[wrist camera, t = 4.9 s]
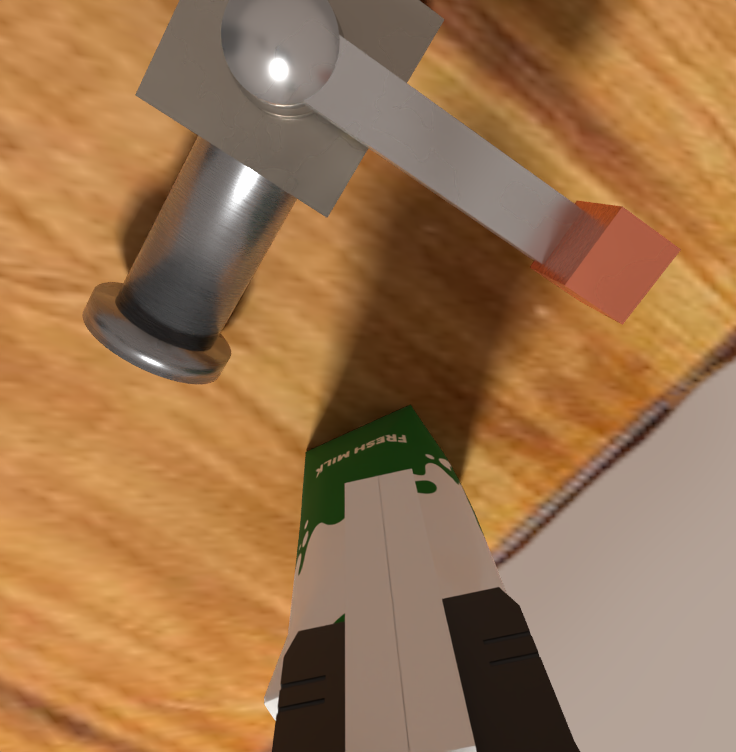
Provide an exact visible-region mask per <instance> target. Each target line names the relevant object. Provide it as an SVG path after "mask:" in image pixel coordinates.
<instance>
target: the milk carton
mask: <svg viewBox="0 0 736 752" xmlns="http://www.w3.org/2000/svg"><path fill="white" fill-rule="evenodd" d="M407 469H412V471H413V475H414V480H415V484H416V488H417V493H418V497H419V502H420V506H421V510H422V515H423V519H424V523H425V528H426V532H427V536H428V541H429V545H430V550H431V554H432V558H433V563H434V567H435V571H436V576H437V580H438V585H439V589H440V593H441V598H442V599H444V598H448V597H453V596H458V595H463V594H468V593H472V592H477V591H482V590H487V589H491V588H496V587H500V588H501V589H502V590H503V591H504V592H505V593H506V590H505V588H504V585H503V583H502V580H501V578H500V575H499V573H498V570H497V568H496V565H495V562H494V560H493V557H492V555H491V552H490V550H489V547H488V545H487V542H486V540H485V537H484V535H483V532H482V530H481V527H480V525H479V522H478V520H477V517H476V515H475V512H474V510H473V508H472V506H471V504H470V502H469V500H468V498H467V496H466V493H465V491H464V489H463V487H462V485H461V483H460V481H459V479H458V477H457V476H456V474H455V472H454V470H453V468H452V467H451V465H450V463H449V461H448V459H447V457H446V456H445V454H444V453H443V452H442V450H441V449H440V447H439V446H438V444H437V443H436V441H435V440H434V438H433V437H432V436H431V434H430V433H429V431H428V430H427V428H426V427H425V425H424V424H423V422H422V421H421V419H420V418H419V417H418V415H417V414H416V412H415V411H414V409H413V408H412V406H411V405H409V406H406V407H404V408H402V409H400V410H398V411H395V412H393V413H391V414H389V415H386V416H384V417H382V418H380V419H378V420H375V421H373V422H371V423H369V424H367V425H364V426H362V427H360V428H358V429H356V430H353V431H351V432H349V433H347V434H344V435H342V436H340V437H338V438H336V439H333V440H331V441H329V442H327V443H325V444H322V445H320V446H318V447H316V448H314V449H311V450H309V451H307V452H306V457H305V469H304V481H303V494H302V508H301V521H300V530H299V540H298V549H297V558H296V568H295V577H294V586H293V595H292V604H291V614H290V623H289V631H288V636H287V639H286V641H285V644H284V647H283V649H282V652H281V655H280V657H279V660H278V663H277V665H276V668H275V670H274V673H273V676H272V678H271V681H270V683H269V686H268V689H267V691H266V694H265V697H264V700H265V702H264V704H265V706H266V707H267V709H268V710H269V712H270V713H271V715H272V716H273V718H274V719H275V721H276V715H277V713H278V708H277V707H278V699H279V691H280V690H281V685H280V683H281V675H282V667H283V658H284V655H285V654H286V652H287V650H288V648H289V647H290V645H291V643H292V641H293V640H294V638H295V636H296V634H297V632H298V631H301V630H306V629H311V628H315V627H320V626H325V625H330V624H334V623H339V622H344V621H345V483H348V482H352V481H357V480H362V479H366V478H371V477H375V476H380V475H384V474H389V473H394V472H398V471H403V470H407ZM506 594H507V593H506Z"/></svg>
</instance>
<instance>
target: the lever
mask: <svg viewBox="0 0 736 752" xmlns="http://www.w3.org/2000/svg"><path fill="white" fill-rule="evenodd" d="M221 42H222V48H223V53H224V56H225V59H226V62H227V64H228V66H229V68H230V70H231V72H232V74H233V75H234V77H235V78H236V79H237V81H238V82H239V83H240V84H241V85H242V86H243V87H244V88H245V89H246V90H247V91H248V92H250V93H251V94H252V95H253V96H254V97H256V98H257V99H258V100H260V101H261V102H263V103H265V104H267V105H269V106H272V107H275V108H279V109H297V108H301V107H304V106H307V107H309V108H310V109H312V110H313V111H315V112H316V113H318V114H319V115H321V116H322V117H323V118H325V119H326V120H328V121H329V122H331V123H332V124H334V125H335V126H337V127H338V128H340V129H341V130H343V131H344V132H345V133H347V134H348V135H350V136H351V137H353V138H354V139H356V140H357V141H359V142H360V143H362V144H363V145H365V146H366V147H368V148H369V149H370V150H372V151H373V152H375V153H376V154H378V155H379V156H381V157H382V158H384V159H385V160H387V161H388V162H390V163H391V164H393V165H394V166H395V167H397V168H398V169H400V170H401V171H403V172H404V173H406V174H407V175H409V176H410V177H412V178H413V179H415V180H416V181H418V182H419V183H420V184H422V185H423V186H425V187H426V188H428V189H429V190H431V191H432V192H434V193H435V194H437V195H438V196H440V197H441V198H443V199H444V200H445V201H447V202H448V203H450V204H451V205H453V206H454V207H456V208H457V209H459V210H460V211H462V212H463V213H465V214H466V215H468V216H469V217H470V218H472V219H473V220H475V221H476V222H478V223H479V224H481V225H482V226H484V227H485V228H487V229H488V230H490V231H491V232H492V233H494V234H495V235H497V236H498V237H500V238H501V239H503V240H504V241H506V242H507V243H509V244H510V245H512V246H513V247H515V248H516V249H517V250H519V251H520V252H522V253H523V254H525V255H526V256H528V257H529V258H531V259H532V260H534V262H533V263H532V265H531V266H530V268H531V269H533V270H534V271H536V272H537V273H539V274H540V275H542V276H543V277H545V278H546V279H548V280H549V281H551V282H552V283H554V284H555V285H557V286H558V287H559V288H561V289H562V290H564V291H565V292H567V293H568V294H570V295H571V296H573V297H574V298H576V299H577V300H579V301H580V302H582V303H584V304H586V305H588V306H589V307H591V308H593V309H595V310H597V311H599V312H600V313H602V314H604V315H606V316H608V317H610V318H611V319H613V320H615V321H617V322H619V323H620V324H622V325H623V323H624V322H625V321H626V319H627V318H628V317H629V316H630V314H631V313H632V312H633V310H634V309H635V308H636V307H637V305H638V304H639V303H640V301H641V300H642V299H643V298H644V296H645V295H646V294H647V292H648V291H649V290H650V289H651V287H652V286H653V285H654V283H655V282H656V281H657V280H658V278H659V277H660V276H661V274H662V273H663V272H664V271H665V269H666V268H667V267H668V265H669V264H670V263H671V262H672V260H673V259H674V258H675V256H676V255H677V254H678V253H679V251H680V250H681V249H679V248H678V247H677V246H675V245H674V244H673V243H671V242H670V241H668V240H667V239H666V238H664V237H663V236H662V235H660V234H659V233H658V232H656V231H655V230H654V229H652V228H651V227H649V226H648V225H647V224H645V223H644V222H643V221H641V220H640V219H639V218H637V217H636V216H634V215H633V214H632V213H630V212H629V211H628V210H626V209H625V208H624V207H621V206H614V205H606V204H599V203H591V202H583V201H576V203H575V204H574V203H572V202H571V201H570V200H568V199H567V198H565V197H564V196H563V195H561V194H560V193H559V192H557V191H556V190H554V189H553V188H552V187H550V186H549V185H547V184H546V183H545V182H543V181H542V180H540V179H539V178H538V177H536V176H535V175H534V174H532V173H531V172H529V171H528V170H527V169H525V168H524V167H522V166H521V165H520V164H518V163H517V162H515V161H514V160H513V159H511V158H510V157H508V156H507V155H506V154H504V153H503V152H502V151H500V150H499V149H497V148H496V147H495V146H493V145H492V144H490V143H489V142H488V141H486V140H485V139H483V138H482V137H481V136H479V135H478V134H477V133H475V132H474V131H472V130H471V129H470V128H468V127H467V126H465V125H464V124H463V123H461V122H460V121H458V120H457V119H456V118H454V117H453V116H452V115H450V114H449V113H447V112H446V111H445V110H443V109H442V108H440V107H439V106H438V105H436V104H435V103H433V102H432V101H431V100H429V99H428V98H427V97H425V96H424V95H422V94H421V93H420V92H418V91H417V90H415V89H414V88H413V87H411V86H410V85H408V84H407V83H406V82H404V81H403V80H402V79H400V78H399V77H397V76H396V75H395V74H393V73H392V72H390V71H389V70H388V69H386V68H385V67H383V66H382V65H381V64H379V63H378V62H377V61H375V60H374V59H372V58H371V57H370V56H368V55H367V54H365V53H364V52H363V51H361V50H360V49H358V48H357V47H356V46H354V45H353V44H351V43H350V42H349V41H347V40H346V39H345V38H343V37H342V36H340V35H339V30H338V24H337V21H336V17H335V14H334V12H333V9H332V7H331V6H330V4H329V2H328V0H229V2H228V4H227V6H226V8H225V11H224V15H223V19H222V25H221Z"/></svg>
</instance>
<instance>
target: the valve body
mask: <svg viewBox="0 0 736 752" xmlns="http://www.w3.org/2000/svg"><path fill="white" fill-rule="evenodd" d="M228 2H229V0H180V1H179V3H178V5H177V7H176V9H175V11H174V14H173V16H172V18H171V20H170V22H169V24H168V26H167V28H166V31H165V33H164V35H163V37H162V39H161V41H160V43H159V46H158V48H157V50H156V52H155V54H154V56H153V58H152V61H151V63H150V65H149V67H148V69H147V71H146V73H145V75H144V78H143V80H142V82H141V84H140V86H139V88H138V90H137V93H136V96H137V97H139V98H141V99H142V100H144V101H145V102H147V103H148V104H150V105H152V106H153V107H155V108H156V109H158V110H159V111H161V112H162V113H164V114H166V115H167V116H169V117H170V118H172V119H173V120H175V121H177V122H178V123H180V124H181V125H183V126H184V127H186V128H188V129H189V130H191V131H192V132H194V133H195V134H197V135H198V137H197V139H196V141H195V143H194V145H193V147H192V149H191V151H190V153H189V155H188V157H187V159H186V161H185V163H184V165H183V167H182V169H181V171H180V173H179V175H178V177H177V179H176V181H175V183H174V185H173V187H172V189H171V191H170V192H169V194H168V196H167V198H166V200H165V202H164V204H163V206H162V208H161V210H160V212H159V214H158V216H157V218H156V220H155V222H154V224H153V226H152V228H151V230H150V232H149V234H148V236H147V238H146V240H145V242H144V244H143V246H142V248H141V250H140V252H139V254H138V256H137V258H136V260H135V262H134V264H133V265H132V267H131V269H130V271H129V273H128V275H127V277H126V279H125V281H124V283H115V282H108V283H102V284H99V285H98V286H96V287H95V289H94V290H93V292H92V294H91V297H90V299H89V301H88V303H87V305H86V307H85V309H84V311H83V320H84V323H85V325H86V327H87V328H88V330H89V331H90V332H91V333H92V335H93V336H94V337H95V338H96V339H97V340H98V341H99V342H100V343H102V344H103V345H104V346H105V347H106V348H108V349H109V350H110V351H112V352H113V353H115V354H116V355H118V356H119V357H121V358H122V359H124V360H126V361H128V362H129V363H131V364H133V365H135V366H137V367H139V368H141V369H143V370H145V371H148V372H150V373H152V374H155V375H158V376H160V377H163V378H167V379H170V380H174V381H178V382H182V383H188V384H207V383H211V382H214V381H215V380H217V378H218V377H219V376H220V374H221V372H222V371H223V369H224V367H225V365H226V364H227V362H228V360H229V359H230V356H231V349H230V347H229V345H228V343H227V341H226V340H225V338H224V337H223V336H222V335H221V334H220V333H221V331H222V329H223V328H224V326H225V324H226V322H227V321H228V319H229V317H230V315H231V314H232V312H233V310H234V308H235V307H236V305H237V303H238V301H239V300H240V298H241V296H242V294H243V293H244V291H245V289H246V287H247V286H248V284H249V282H250V280H251V279H252V277H253V275H254V273H255V272H256V270H257V268H258V266H259V265H260V263H261V261H262V259H263V258H264V256H265V254H266V252H267V251H268V249H269V247H270V245H271V244H272V242H273V240H274V238H275V237H276V235H277V233H278V231H279V230H280V228H281V226H282V224H283V223H284V221H285V219H286V217H287V216H288V214H289V212H290V210H291V209H292V207H293V205H294V203H295V202H296V200H297V199H299V200H300V201H302V202H303V203H305V204H306V205H308V206H310V207H311V208H313V209H314V210H316V211H317V212H319V213H321V214H322V215H324V216H325V217H328V216H329V214H330V212H331V210H332V209H333V207H334V205H335V204H336V202H337V200H338V199H339V197H340V195H341V194H342V192H343V190H344V188H345V187H346V185H347V183H348V182H349V180H350V178H351V177H352V175H353V173H354V172H355V170H356V168H357V166H358V165H359V163H360V161H361V160H362V158H363V156H364V155H365V153H366V151H367V150H368V147H366V146H365V145H363V144H362V143H360V142H359V141H357V140H356V139H354V138H353V137H351V136H350V135H348V134H347V133H345V132H344V131H343V130H341V129H340V128H338V127H337V126H335V125H334V124H332V123H331V122H329V121H328V120H326V119H325V118H323V117H322V116H321V115H319V114H318V113H316V112H315V111H313V110H312V109H310V108H309V107H307V106H304V107H301V108H297V109H279V108H275V107H272V106H269V105H267V104H265V103H263V102H261V101H260V100H258V99H257V98H256V97H254V96H253V95H252V94H251V93H250V92H248V91H247V90H246V89H245V88H244V87H243V86H242V85H241V84H240V83H239V82H238V81H237V79H236V78H235V77H234V75H233V74H232V72H231V70H230V68H229V66H228V64H227V62H226V59H225V56H224V53H223V48H222V42H221V25H222V19H223V15H224V11H225V8H226V6H227V4H228ZM328 2H329V4H330V6H331V7H332V9H333V12H334V14H335V17H336V21H337V24H338V30H339V35H340V36H342V37H343V38H345V39H346V40H347V41H349V42H350V43H351V44H353V45H354V46H356V47H357V48H358V49H360V50H361V51H363V52H364V53H365V54H367V55H368V56H370V57H371V58H372V59H374V60H375V61H377V62H378V63H379V64H381V65H382V66H383V67H385V68H386V69H388V70H389V71H390V72H392V73H393V74H395V75H396V76H397V77H399V78H400V79H402V80H403V81H404V82H406V83H407V82H408V80H409V78H410V77H411V75H412V73H413V72H414V70H415V68H416V67H417V65H418V63H419V62H420V60H421V58H422V56H423V55H424V53H425V51H426V50H427V48H428V46H429V45H430V43H431V41H432V40H433V38H434V36H435V34H436V33H437V31H438V29H439V28H440V26H441V24H442V23H443V21H444V19H443V18H442V17H441V16H439V15H438V14H437V13H435V12H434V11H433V10H431V9H430V8H429V7H428V6H426V5H425V4H424V3H422V2H421V1H420V0H328Z"/></svg>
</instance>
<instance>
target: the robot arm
mask: <svg viewBox="0 0 736 752" xmlns="http://www.w3.org/2000/svg"><path fill="white" fill-rule="evenodd" d="M280 685H281V690H280V691H279V699H278V707H277V708H278V713H277V715H276V723H275V731H274V739H273V747H272V752H580V751H579V749H578V747H577V745H576V743H575V742H574V739H573V737H572V734H571V732H570V729H569V727H568V725H567V722H566V719H565V717H564V715H563V712H562V710H561V707H560V705H559V702H558V700H557V697H556V695H555V692H554V690H553V687H552V685H551V683H550V680H549V677H548V675H547V673H546V670H545V668H544V665H543V663H542V660H541V658H540V657H539V654H538V650H537V648H536V645H535V643H534V640H533V638H532V636H531V634H530V631H529V628H528V626H527V623H526V621H525V618H524V616H523V613H522V611H521V608H520V606H519V605H518V604H517V603H516V602H515V601H514V600H513V599H512V598H511V597H509V596H508V595H507V594H506V593H505V592H504V591H503V590H502V589H501V588H500V587H496V588H491V589H487V590H482V591H477V592H472V593H468V594H463V595H458V596H453V597H448V598H444V599H442V598H441V593H440V589H439V585H438V580H437V576H436V571H435V567H434V563H433V558H432V554H431V550H430V545H429V541H428V536H427V532H426V528H425V523H424V519H423V515H422V510H421V506H420V502H419V497H418V493H417V488H416V484H415V480H414V475H413V471H412V469H407V470H403V471H398V472H394V473H389V474H384V475H380V476H375V477H371V478H366V479H362V480H357V481H352V482H348V483H345V621H344V622H339V623H334V624H330V625H325V626H320V627H315V628H311V629H306V630H301V631H298V632H297V634H296V636H295V638H294V640H293V641H292V643H291V645H290V647H289V648H288V650H287V652H286V654H285V655H284V658H283V667H282V675H281V683H280Z"/></svg>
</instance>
